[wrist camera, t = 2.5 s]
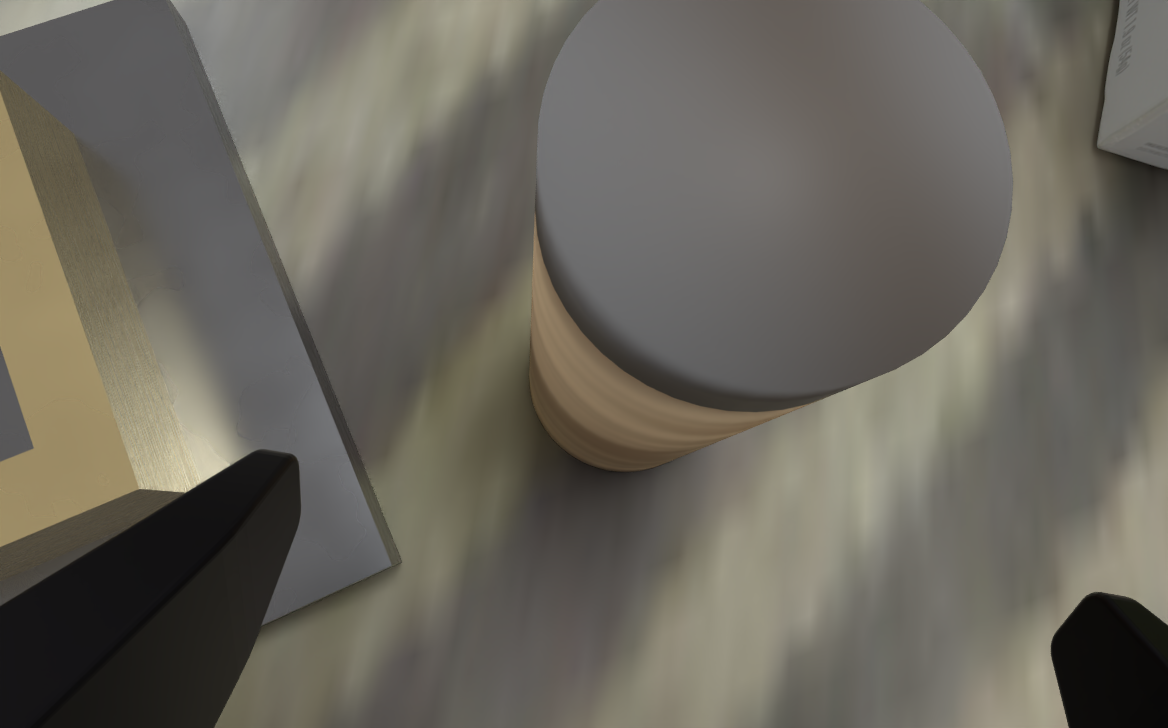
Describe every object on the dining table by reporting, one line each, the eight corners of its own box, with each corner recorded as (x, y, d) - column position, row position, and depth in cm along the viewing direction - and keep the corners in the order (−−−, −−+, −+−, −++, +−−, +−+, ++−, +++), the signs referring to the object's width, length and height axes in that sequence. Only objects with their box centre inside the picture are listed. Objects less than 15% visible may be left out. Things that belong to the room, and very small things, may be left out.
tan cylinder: (576, 504, 19) (667, 474, 7) (498, 328, 20) (459, 28, 8) (748, 424, 20) (1100, 273, 8) (667, 258, 21) (871, -115, 9)
